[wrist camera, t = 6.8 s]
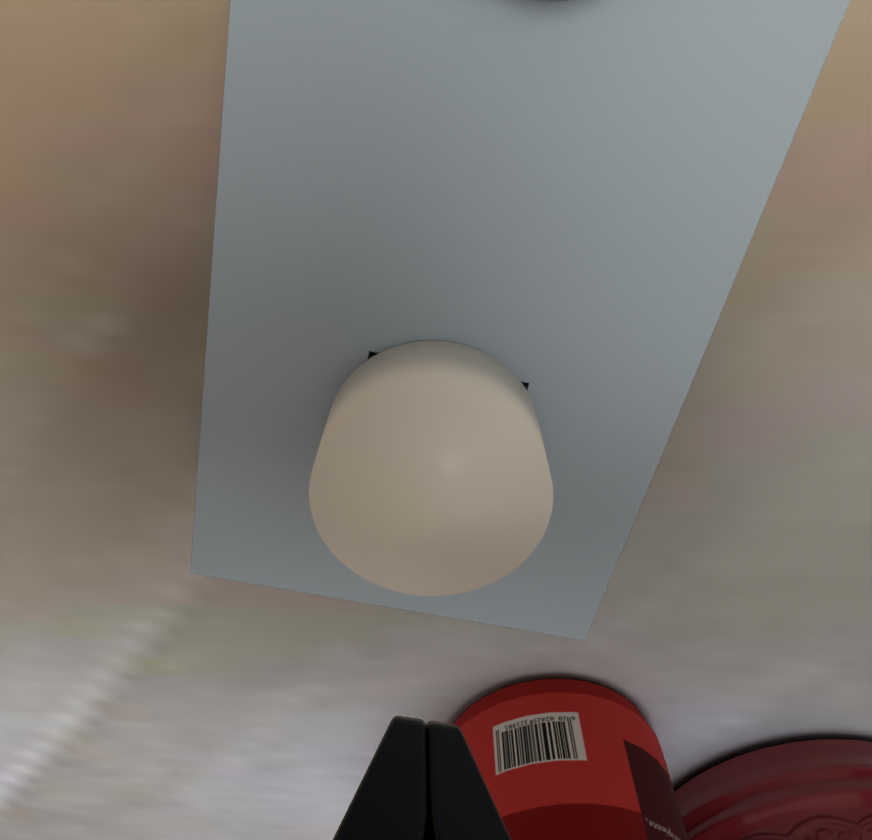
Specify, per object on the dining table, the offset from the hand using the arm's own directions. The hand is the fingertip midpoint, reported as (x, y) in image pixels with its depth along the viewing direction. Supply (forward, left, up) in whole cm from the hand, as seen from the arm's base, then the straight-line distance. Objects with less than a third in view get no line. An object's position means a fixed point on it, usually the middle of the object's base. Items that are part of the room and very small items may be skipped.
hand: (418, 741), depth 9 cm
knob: (0, 0, -11) cm, 11 cm away
